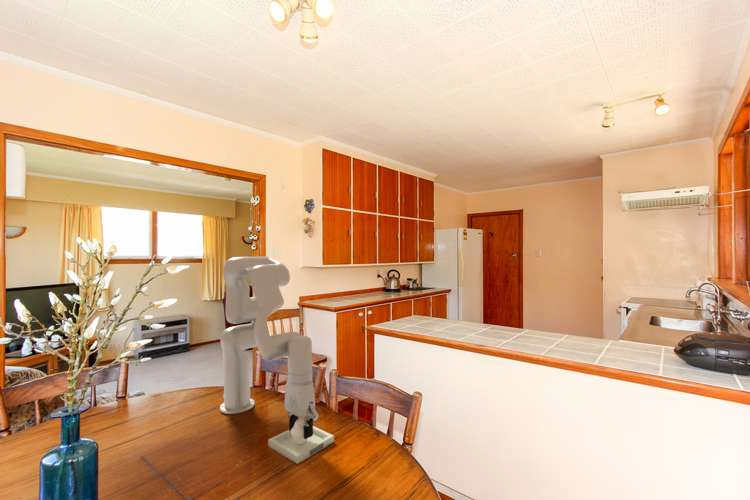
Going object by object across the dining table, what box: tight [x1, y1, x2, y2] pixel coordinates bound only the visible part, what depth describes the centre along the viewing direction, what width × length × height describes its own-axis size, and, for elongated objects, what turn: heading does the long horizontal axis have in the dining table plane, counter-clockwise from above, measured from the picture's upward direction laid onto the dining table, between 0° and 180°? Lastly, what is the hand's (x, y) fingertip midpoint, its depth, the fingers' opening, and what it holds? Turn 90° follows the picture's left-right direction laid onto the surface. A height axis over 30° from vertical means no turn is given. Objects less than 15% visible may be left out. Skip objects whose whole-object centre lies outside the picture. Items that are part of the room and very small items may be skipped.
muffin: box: [291, 418, 308, 444], centre depth 111 cm, size 6×6×7 cm
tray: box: [267, 425, 335, 464], centre depth 111 cm, size 15×14×2 cm
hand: (301, 432), depth 111 cm, fingers open, 6 cm apart
